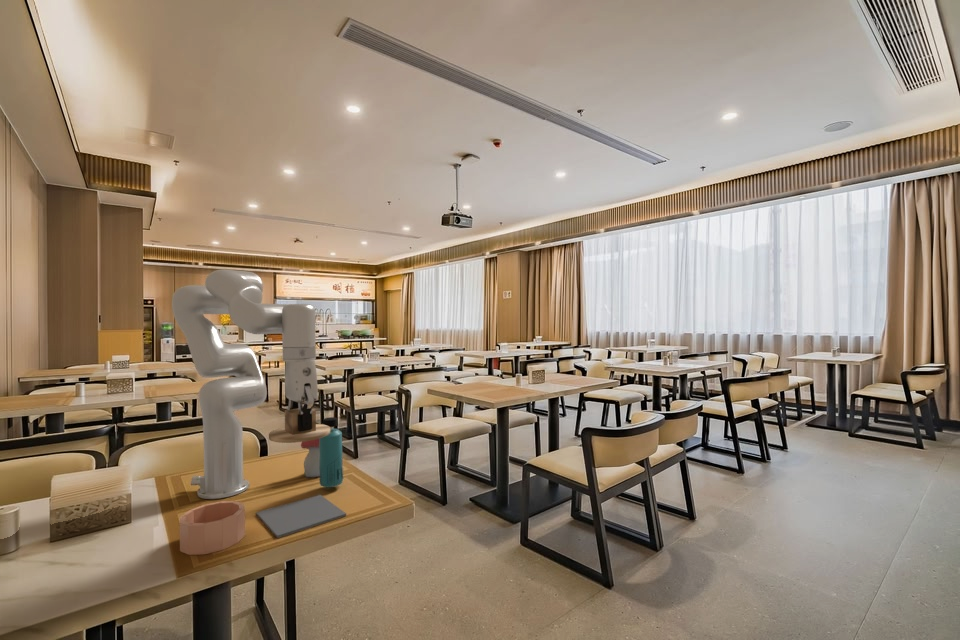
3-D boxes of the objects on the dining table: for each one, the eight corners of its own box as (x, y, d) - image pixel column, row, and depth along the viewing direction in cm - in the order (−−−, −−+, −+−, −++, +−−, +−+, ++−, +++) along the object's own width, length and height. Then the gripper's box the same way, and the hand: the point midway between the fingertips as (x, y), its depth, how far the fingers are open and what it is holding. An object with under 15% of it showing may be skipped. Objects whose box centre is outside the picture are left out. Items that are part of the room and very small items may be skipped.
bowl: (166, 555, 90) (166, 526, 90) (201, 527, 102) (201, 501, 102) (226, 553, 90) (226, 524, 90) (254, 526, 102) (254, 500, 102)
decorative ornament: (332, 468, 141) (331, 422, 141) (334, 475, 135) (333, 426, 135) (300, 473, 138) (300, 425, 138) (301, 480, 132) (301, 430, 132)
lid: (340, 434, 107) (339, 410, 107) (279, 446, 98) (279, 419, 98) (317, 425, 118) (317, 402, 118) (261, 434, 108) (260, 410, 108)
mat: (277, 538, 96) (277, 535, 96) (256, 514, 108) (256, 512, 108) (346, 515, 107) (346, 513, 107) (320, 496, 119) (320, 494, 119)
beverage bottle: (338, 492, 122) (338, 420, 122) (315, 492, 122) (314, 420, 122) (346, 484, 128) (345, 415, 128) (324, 484, 128) (323, 415, 128)
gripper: (328, 355, 104) (329, 431, 104) (302, 351, 117) (303, 420, 117) (296, 357, 99) (297, 437, 99) (272, 353, 112) (273, 424, 112)
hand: (300, 427), depth 108 cm, fingers closed on lid, 5 cm apart
